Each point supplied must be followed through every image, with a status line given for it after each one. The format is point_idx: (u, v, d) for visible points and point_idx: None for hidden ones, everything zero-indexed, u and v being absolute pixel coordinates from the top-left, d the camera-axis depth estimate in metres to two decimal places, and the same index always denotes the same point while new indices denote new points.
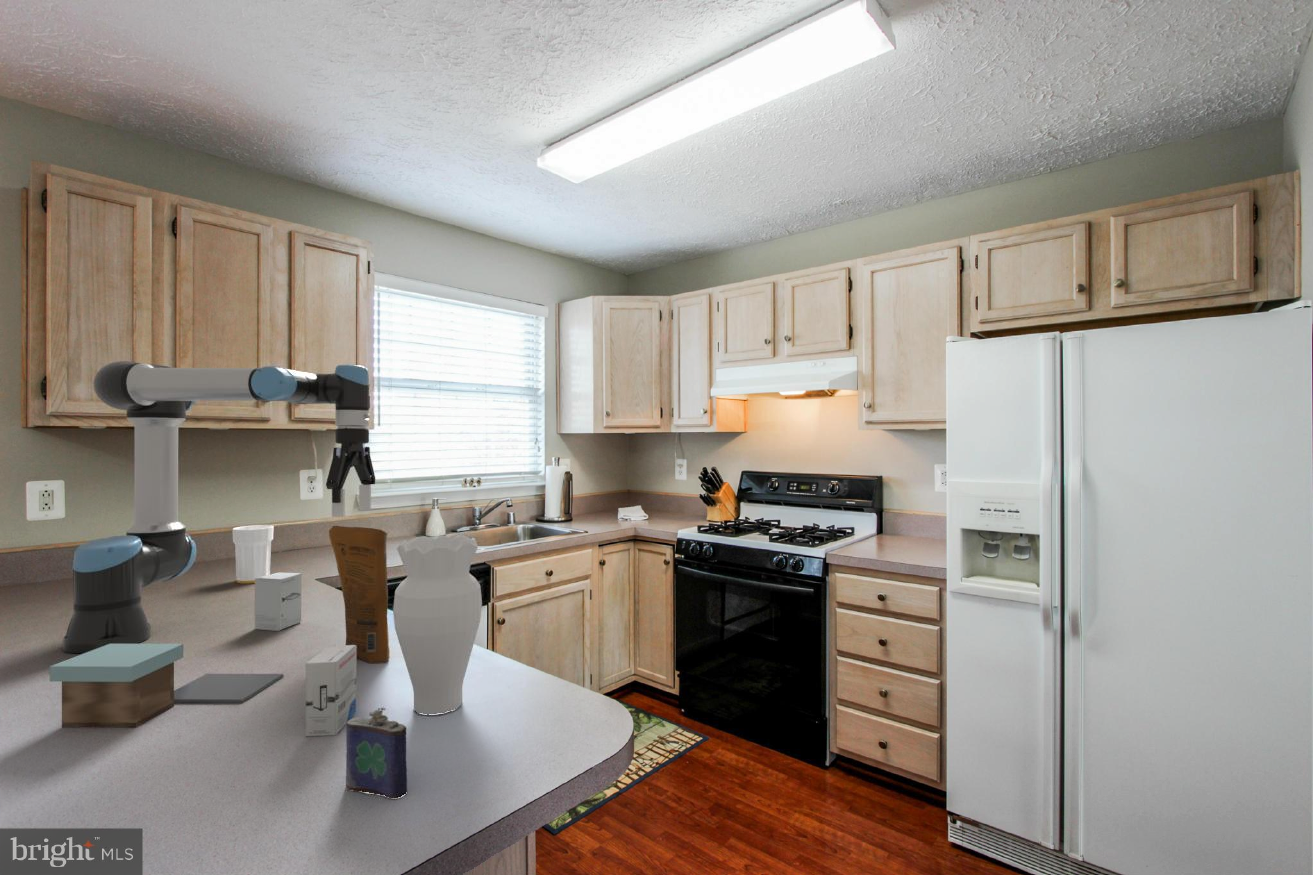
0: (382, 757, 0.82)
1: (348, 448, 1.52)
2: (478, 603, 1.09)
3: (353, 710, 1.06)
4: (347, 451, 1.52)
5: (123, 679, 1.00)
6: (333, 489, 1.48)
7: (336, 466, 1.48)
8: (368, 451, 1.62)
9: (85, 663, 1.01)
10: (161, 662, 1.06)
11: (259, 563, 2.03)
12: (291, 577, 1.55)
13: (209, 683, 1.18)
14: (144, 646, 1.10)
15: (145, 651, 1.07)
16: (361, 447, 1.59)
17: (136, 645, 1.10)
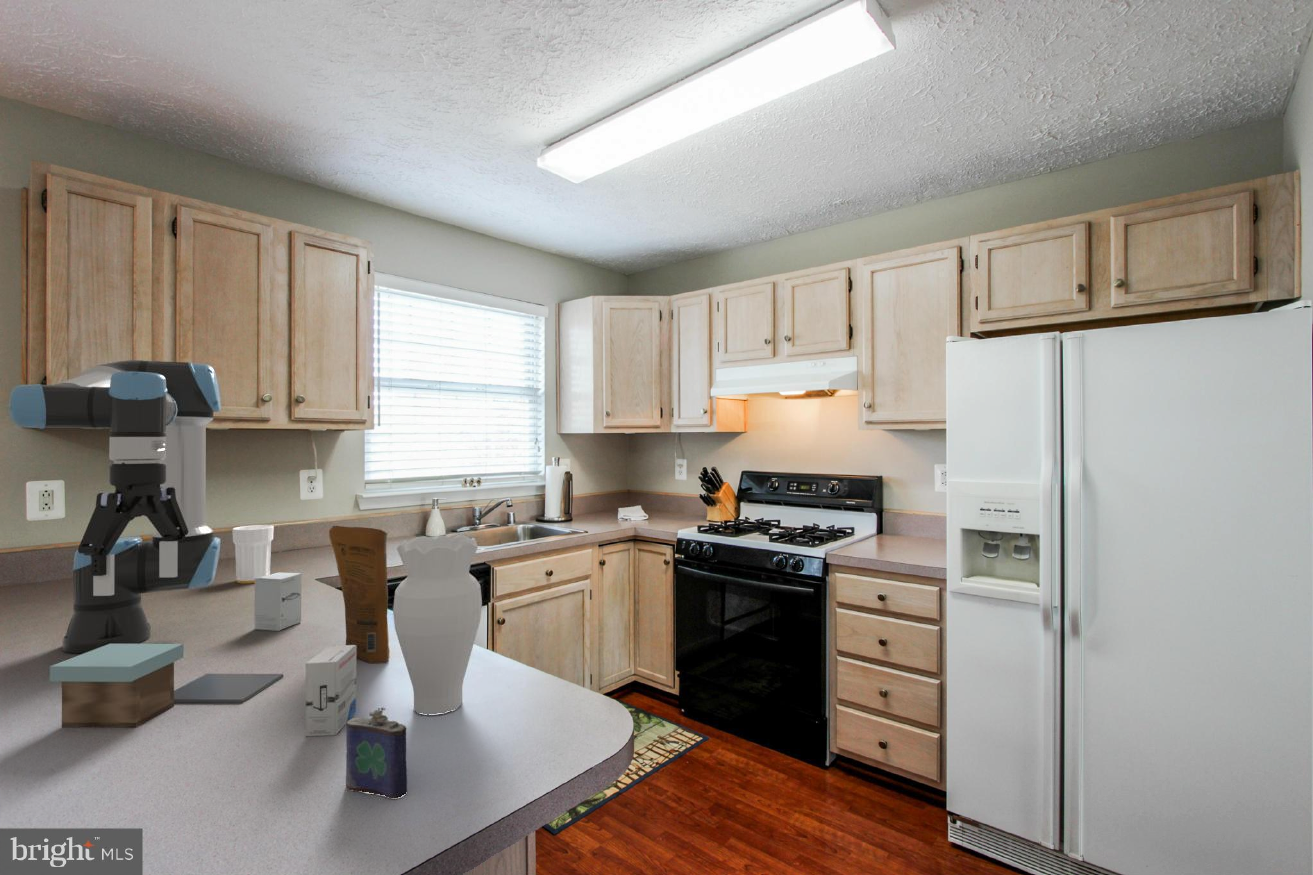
0: (382, 757, 0.82)
1: (125, 493, 1.04)
2: (478, 603, 1.09)
3: (353, 710, 1.06)
4: (123, 497, 1.04)
5: (123, 679, 1.00)
6: (92, 556, 1.00)
7: (98, 522, 1.00)
8: (172, 494, 1.14)
9: (85, 663, 1.01)
10: (161, 662, 1.06)
11: (259, 563, 2.03)
12: (291, 577, 1.55)
13: (209, 683, 1.18)
14: (144, 646, 1.10)
15: (145, 651, 1.07)
16: (156, 489, 1.11)
17: (136, 645, 1.10)
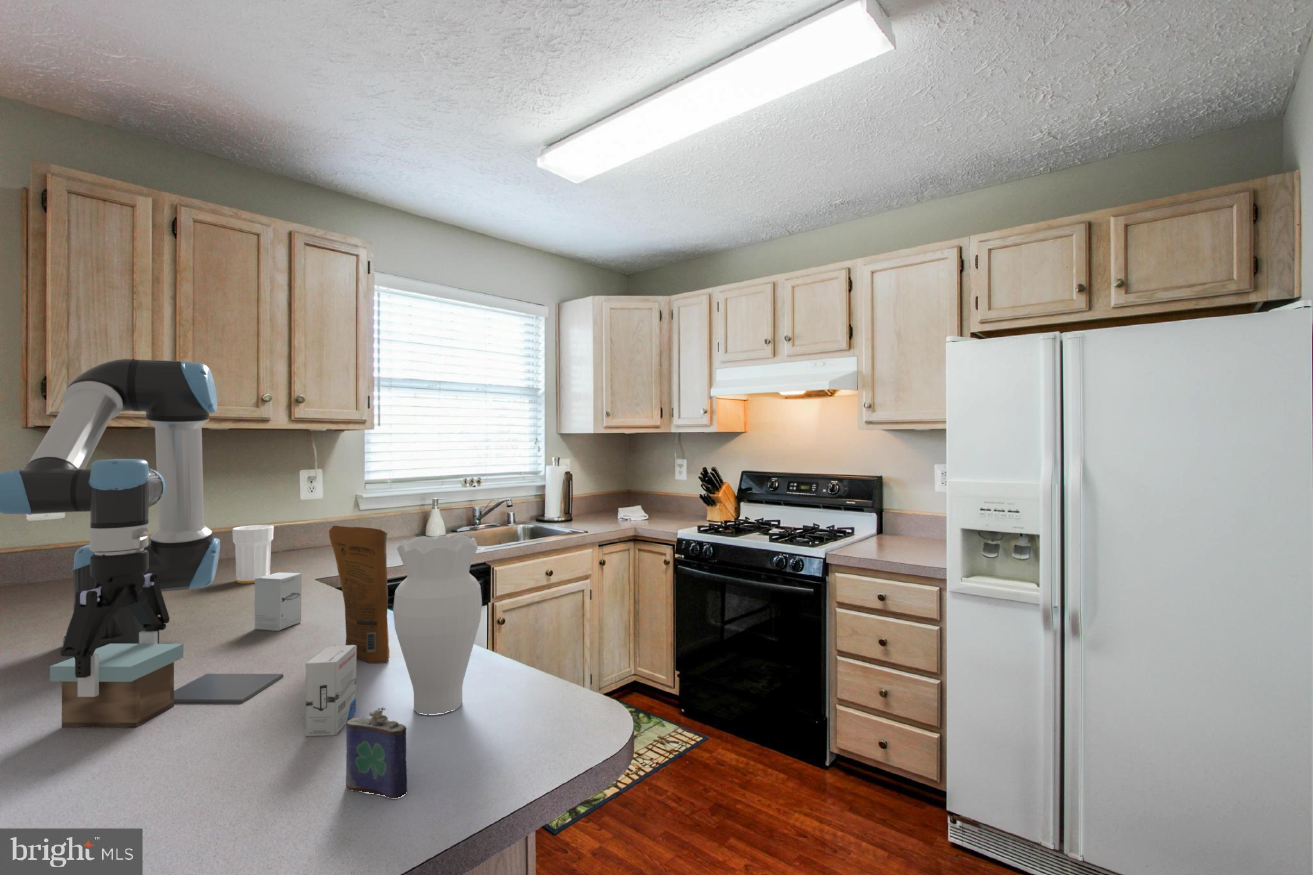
0: (382, 757, 0.82)
1: (105, 587, 1.02)
2: (478, 603, 1.09)
3: (353, 710, 1.06)
4: (103, 592, 1.01)
5: (123, 679, 1.00)
6: (76, 658, 0.98)
7: (79, 623, 0.98)
8: (156, 580, 1.12)
9: None
10: (161, 662, 1.06)
11: (259, 563, 2.03)
12: (291, 577, 1.55)
13: (209, 683, 1.18)
14: (144, 646, 1.10)
15: (145, 651, 1.07)
16: (139, 576, 1.08)
17: (136, 645, 1.10)
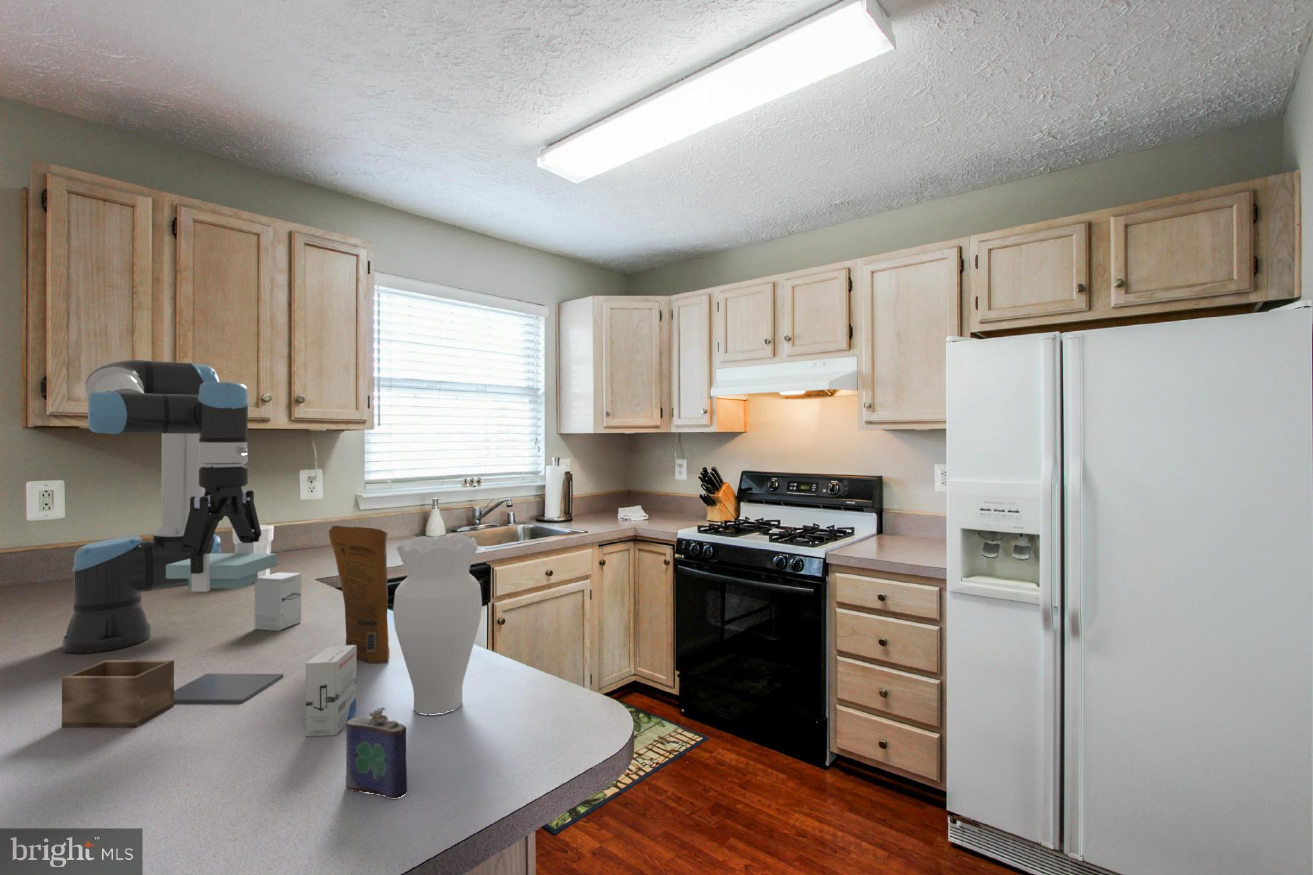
0: (382, 757, 0.82)
1: (213, 495, 1.13)
2: (478, 603, 1.09)
3: (353, 710, 1.06)
4: (212, 499, 1.13)
5: (232, 576, 1.11)
6: (192, 555, 1.09)
7: (194, 524, 1.09)
8: (251, 496, 1.23)
9: None
10: (260, 566, 1.18)
11: None
12: (291, 577, 1.55)
13: (209, 683, 1.18)
14: (242, 554, 1.21)
15: (245, 557, 1.18)
16: (238, 490, 1.20)
17: (234, 554, 1.22)
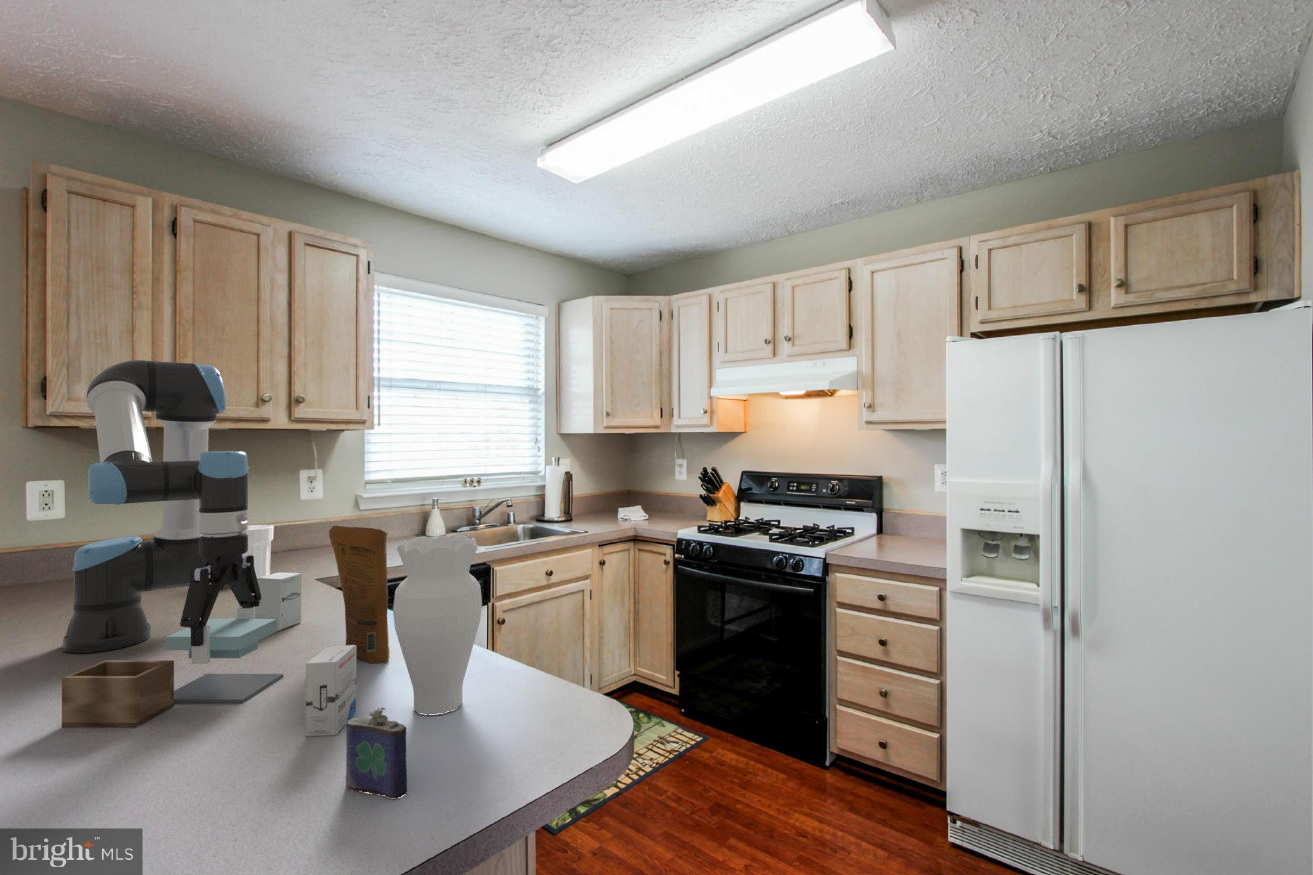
0: (382, 757, 0.82)
1: (214, 565, 1.13)
2: (478, 603, 1.09)
3: (353, 710, 1.06)
4: (212, 570, 1.13)
5: (232, 648, 1.11)
6: (192, 628, 1.09)
7: (195, 597, 1.09)
8: (251, 561, 1.23)
9: None
10: (260, 634, 1.17)
11: (259, 563, 2.03)
12: (291, 577, 1.55)
13: (209, 683, 1.18)
14: (242, 620, 1.21)
15: (246, 624, 1.18)
16: (239, 557, 1.20)
17: (235, 620, 1.22)
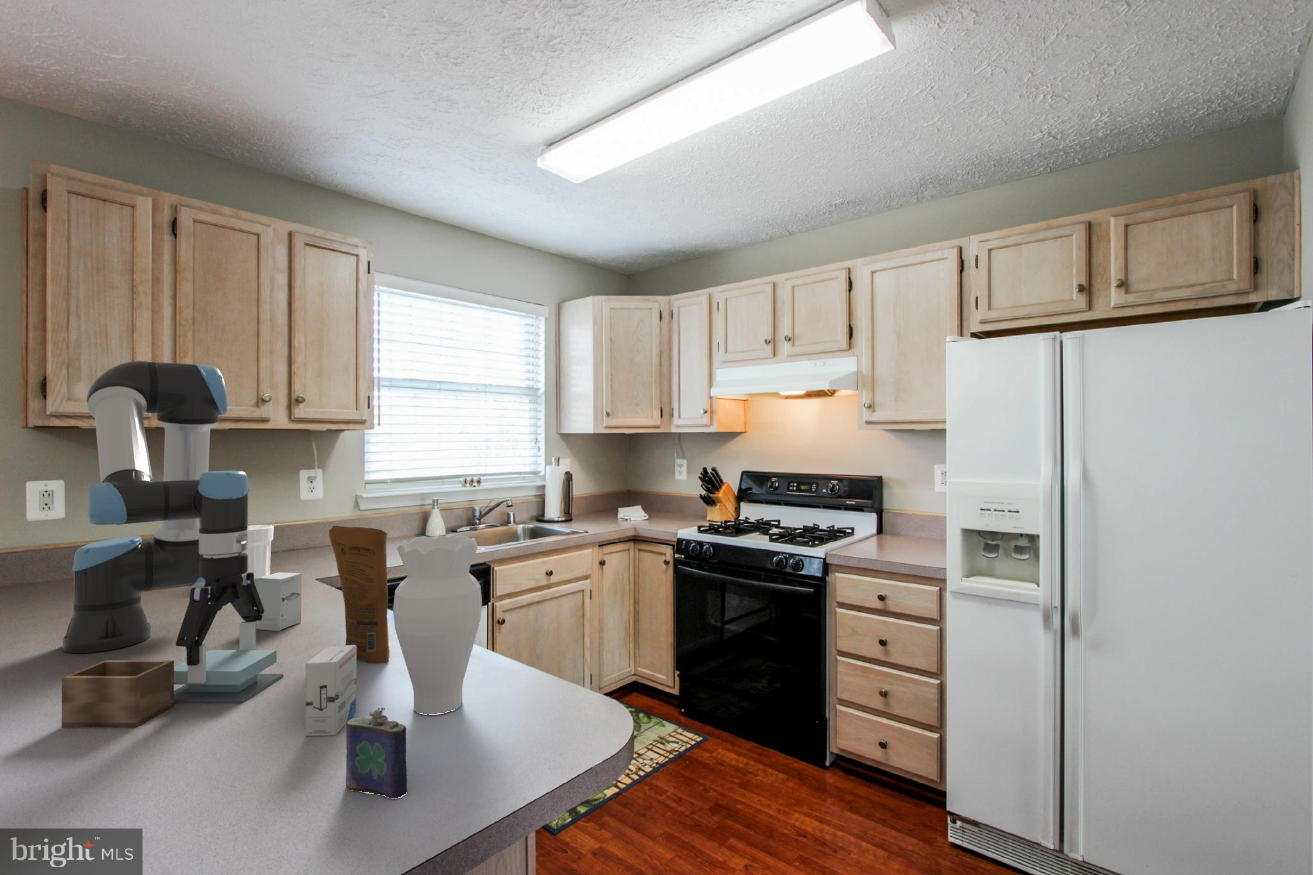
0: (382, 757, 0.82)
1: (214, 586, 1.13)
2: (478, 603, 1.09)
3: (353, 710, 1.06)
4: (212, 590, 1.13)
5: (232, 682, 1.11)
6: (188, 647, 1.08)
7: (193, 616, 1.09)
8: (251, 578, 1.23)
9: None
10: (260, 667, 1.18)
11: (259, 563, 2.03)
12: (291, 577, 1.55)
13: None
14: (242, 652, 1.21)
15: (245, 657, 1.19)
16: (238, 577, 1.19)
17: (234, 651, 1.22)
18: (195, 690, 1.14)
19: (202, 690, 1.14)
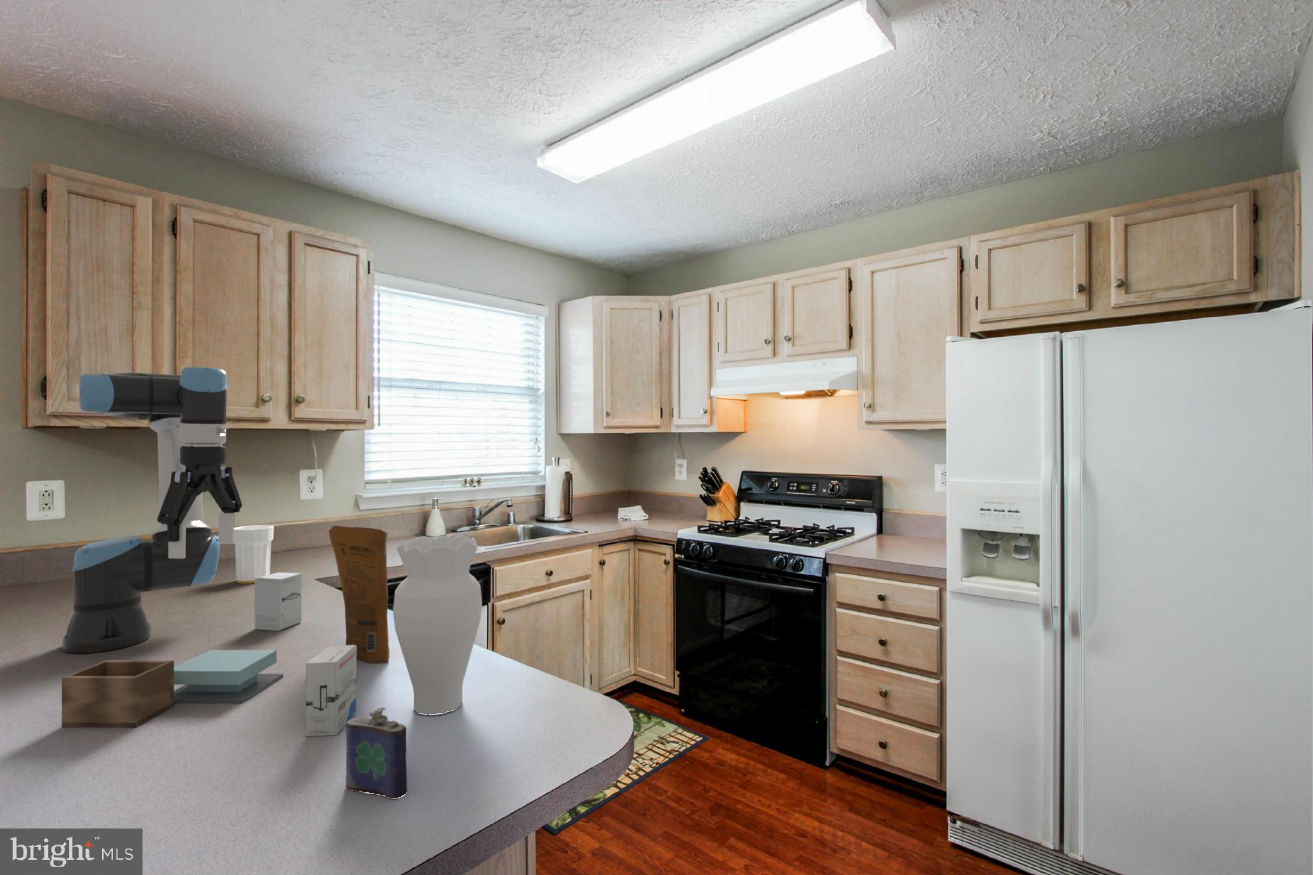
0: (382, 757, 0.82)
1: (194, 472, 1.22)
2: (478, 603, 1.09)
3: (353, 710, 1.06)
4: (192, 475, 1.22)
5: (232, 682, 1.11)
6: (168, 525, 1.18)
7: (173, 496, 1.18)
8: (230, 472, 1.32)
9: (196, 668, 1.13)
10: (260, 667, 1.18)
11: (259, 563, 2.03)
12: (291, 577, 1.55)
13: None
14: (242, 652, 1.21)
15: (245, 657, 1.19)
16: (217, 468, 1.28)
17: (234, 651, 1.22)
18: (195, 690, 1.14)
19: (202, 690, 1.14)
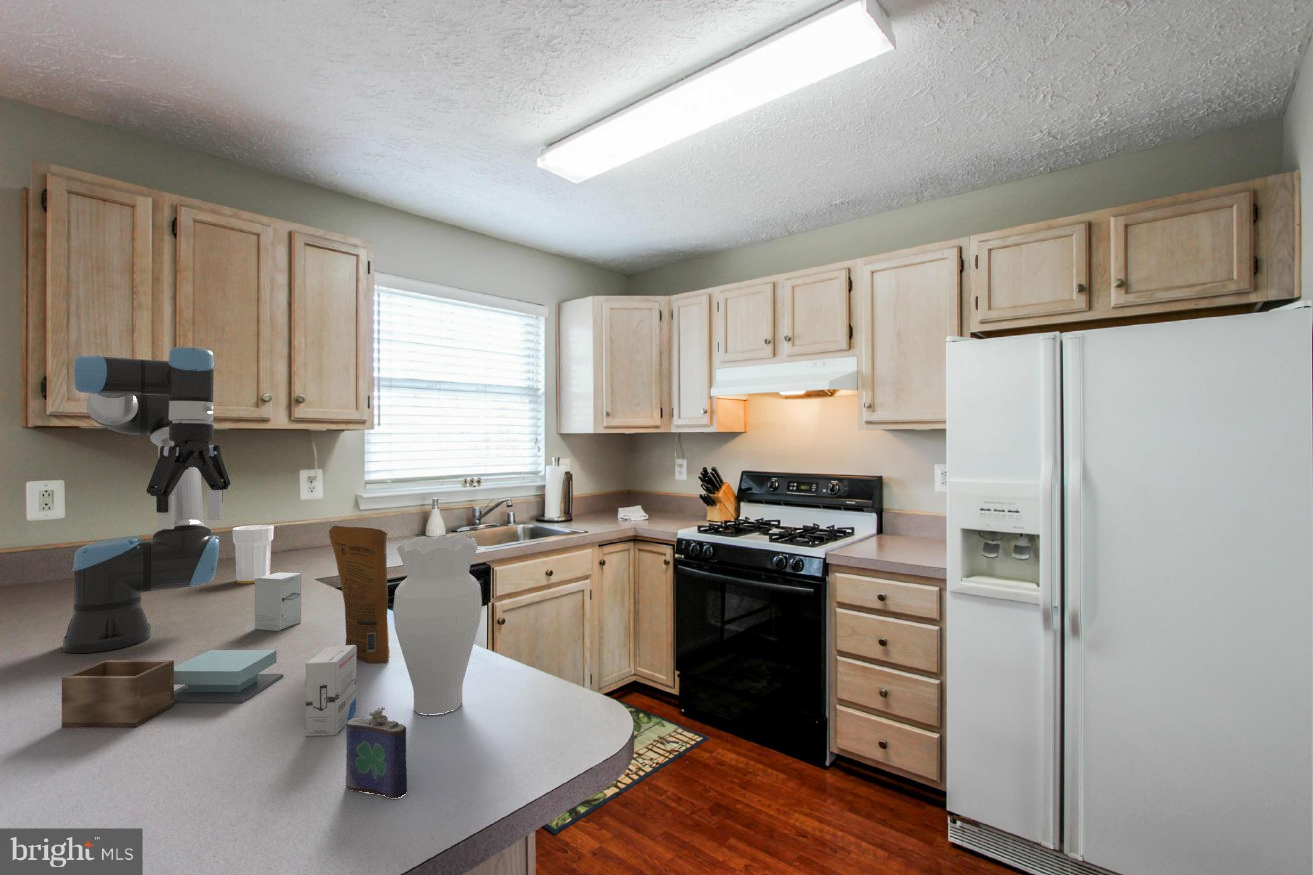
0: (382, 757, 0.82)
1: (182, 447, 1.27)
2: (478, 603, 1.09)
3: (353, 710, 1.06)
4: (180, 450, 1.27)
5: (232, 682, 1.11)
6: (157, 496, 1.23)
7: (162, 468, 1.23)
8: (218, 450, 1.37)
9: (196, 668, 1.13)
10: (260, 667, 1.18)
11: (259, 563, 2.03)
12: (291, 577, 1.55)
13: None
14: (242, 652, 1.21)
15: (245, 657, 1.19)
16: (205, 445, 1.33)
17: (234, 651, 1.22)
18: (195, 690, 1.14)
19: (202, 690, 1.14)
